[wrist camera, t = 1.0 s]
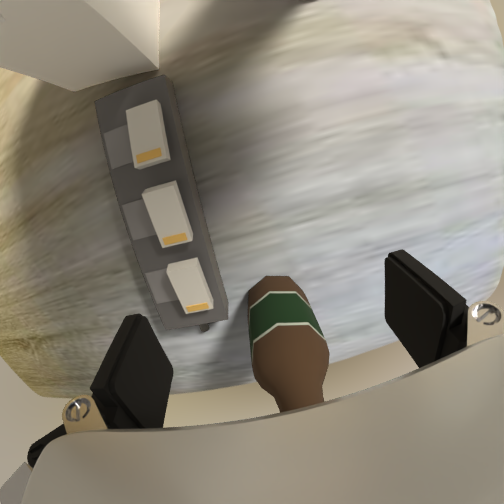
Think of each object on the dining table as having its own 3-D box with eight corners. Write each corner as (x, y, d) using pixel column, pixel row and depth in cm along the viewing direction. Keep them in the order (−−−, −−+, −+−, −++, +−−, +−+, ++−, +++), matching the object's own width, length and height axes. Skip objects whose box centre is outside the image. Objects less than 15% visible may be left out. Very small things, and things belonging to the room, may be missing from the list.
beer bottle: (256, 329, 39) (277, 492, 16) (236, 284, 36) (243, 461, 14) (309, 311, 38) (371, 465, 16) (294, 263, 35) (368, 425, 13)
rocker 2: (168, 263, 29) (166, 272, 27) (197, 257, 28) (196, 266, 27) (186, 305, 32) (185, 314, 31) (213, 300, 32) (213, 309, 31)
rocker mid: (145, 189, 26) (141, 194, 24) (175, 180, 26) (173, 185, 24) (164, 240, 29) (162, 248, 28) (193, 233, 29) (192, 241, 28)
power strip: (109, 105, 27) (93, 101, 23) (172, 82, 27) (163, 74, 23) (178, 330, 38) (173, 349, 34) (233, 320, 38) (234, 339, 34)
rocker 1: (131, 114, 24) (125, 109, 22) (160, 104, 24) (156, 99, 22) (140, 169, 25) (134, 167, 23) (170, 160, 25) (166, 157, 23)
